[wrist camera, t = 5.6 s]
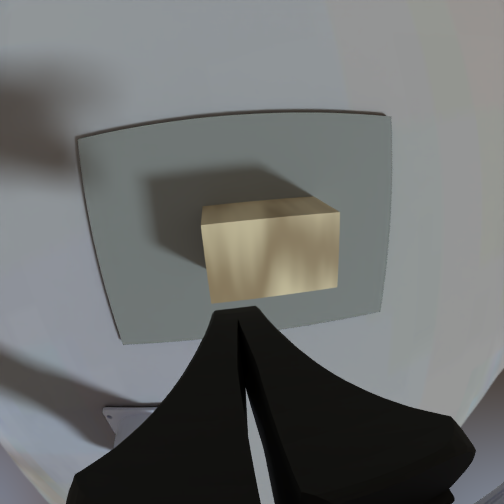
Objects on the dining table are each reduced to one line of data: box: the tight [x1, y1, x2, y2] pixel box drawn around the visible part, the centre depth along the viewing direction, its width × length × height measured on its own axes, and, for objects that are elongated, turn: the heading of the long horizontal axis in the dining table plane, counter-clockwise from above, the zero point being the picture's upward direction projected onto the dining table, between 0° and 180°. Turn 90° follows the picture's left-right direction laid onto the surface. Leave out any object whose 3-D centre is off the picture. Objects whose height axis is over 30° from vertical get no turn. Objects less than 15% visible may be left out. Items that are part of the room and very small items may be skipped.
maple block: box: [201, 196, 340, 304], centre depth 17 cm, size 4×4×6 cm
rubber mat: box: [78, 113, 392, 345], centre depth 19 cm, size 14×19×1 cm
